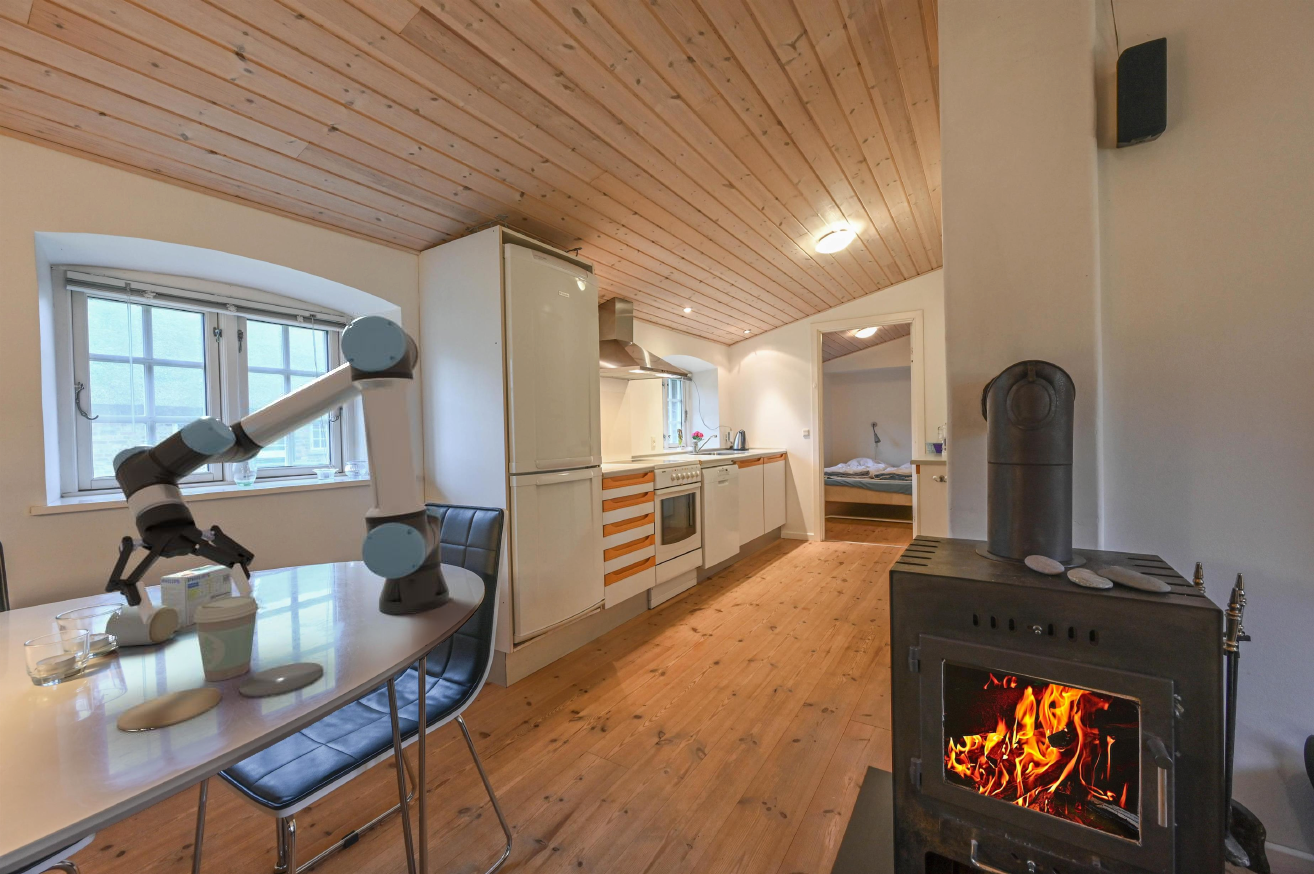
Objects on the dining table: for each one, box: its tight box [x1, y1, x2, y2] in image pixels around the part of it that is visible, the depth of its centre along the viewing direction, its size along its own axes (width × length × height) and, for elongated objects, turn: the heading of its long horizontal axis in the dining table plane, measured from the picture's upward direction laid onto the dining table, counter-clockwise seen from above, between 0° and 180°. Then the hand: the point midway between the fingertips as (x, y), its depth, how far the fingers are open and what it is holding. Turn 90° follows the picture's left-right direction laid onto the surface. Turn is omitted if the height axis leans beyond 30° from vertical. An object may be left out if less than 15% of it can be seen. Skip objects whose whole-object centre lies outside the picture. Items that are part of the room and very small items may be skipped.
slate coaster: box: [238, 661, 324, 699], centre depth 84 cm, size 11×11×1 cm
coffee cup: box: [193, 595, 260, 682], centre depth 87 cm, size 8×8×12 cm
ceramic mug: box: [104, 604, 182, 647], centre depth 103 cm, size 11×8×8 cm
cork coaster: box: [117, 687, 222, 731], centre depth 75 cm, size 11×11×1 cm
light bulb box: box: [160, 564, 233, 628], centre depth 116 cm, size 11×7×11 cm, turn 172°
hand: (202, 606), depth 90 cm, fingers open, 13 cm apart
